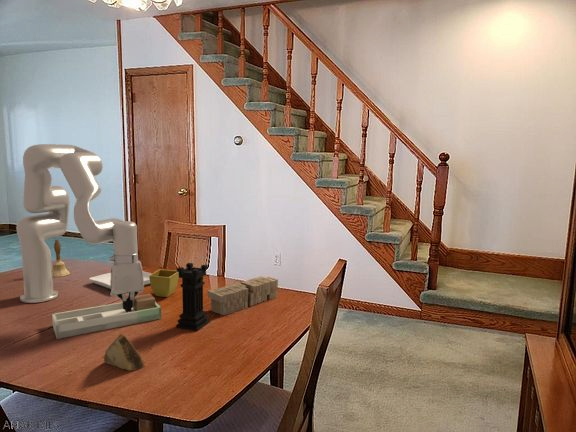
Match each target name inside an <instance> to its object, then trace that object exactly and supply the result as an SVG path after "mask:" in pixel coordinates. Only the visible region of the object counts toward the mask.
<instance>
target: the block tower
mask: <svg viewBox="0 0 576 432" xmlns="http://www.w3.org/2000/svg"><path fill="white" fill-rule="evenodd" d="M278 285H279V279H278V278H275V277H271V276H267V277H265V276H262V275H260V276H257V277H253V278H250V279H248V280H244V281H241V282H240V283H239V282H236V283H232V284H230V285H229V284H228V285H226V286H222V287H219V288H216V289H213V290H212V289H208V290H207V298H209V299H210V311H211V312H213V313H216V314H218V315H220V316H226V315H227V314H228V315H230V314H234V313H236V312H239V311H241V310H243V308H244V309H248V308H249V307H252V305H253V306H254V304H256V305H258V304H257V303H259V304H260V302H261V303H264V302H267V301H266V300H269V299H270V300H272V298H273V299H276V298H278V289H279V287H278ZM275 297H276V298H275ZM263 301H264V302H263ZM248 305H249V307H248ZM247 307H248V308H247Z"/></svg>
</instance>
